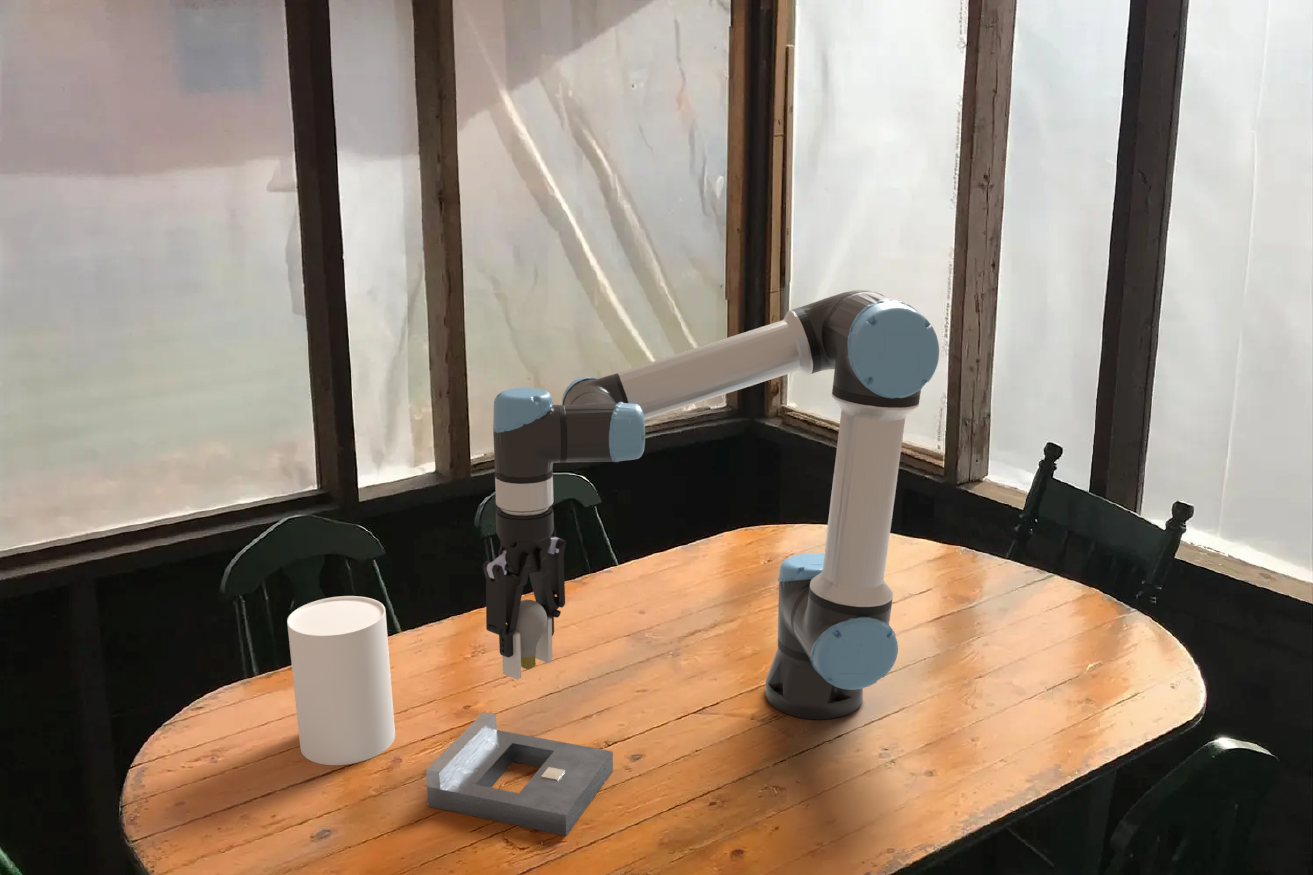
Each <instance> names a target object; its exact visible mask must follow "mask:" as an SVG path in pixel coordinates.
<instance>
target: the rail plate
mask: <svg viewBox="0 0 1313 875" xmlns="http://www.w3.org/2000/svg"><path fill="white" fill-rule="evenodd" d="M497 727H498V726H497V714H494V713H491V712H490V713H489V712H485V711H484V712H482V713H481V714H480V715H479V716H478V717H477V718H476V719H475V720H474V721H473V722H472V723H471V724H470V725H469V726H468V727H467V728H466V729H465V730H464V731H463V732H462V733H461V734H460V735H459V736H458V737H457V738H456V739H455V740H454V741H453V742H452V743H451V744H450V745H449V746H447V748H446V749H445V750H444V751H443V752H442V753H441V754H440V755H439V756H438V757H437V758H436V759H435V760H434V761H433V762H432V763H431V764H430V765H429V766H428V767H426V769H425V776H426V790H427V792H426V793H427V801H428V802H427V804H428V807H430V808H435V809H439V810H442V811H443V810H444V811H448V812H449V811H450V812H453V813H457V814H463V815H466V816H472V817H477V818H479V819H480V818H481V819H484V820H485V819H486V820H490V821H495V822H499V823H504V824H509V825H515V826H518V827H523V828H527V829H533V830H538V831H542V832H547V833H551V834H556V835H561V836H565V837H566V836H568V835H569V833H570V832H571V830H572V829H573V827H574V826H575V825H576V824H577V822H578V820H579V819H580V818H581V816H582V814H584V812H585V810H586V809H587V808H588V806H589V805H590V804H591V802H592V801H593V800H594V798H595V796H596V795H597V794H598V792H599V791H600V789H601V788H602V787H603V786H604V784H605V782H606V781H607V780H608V778H609V777H610V775H611V774H612V773H613V772H614V756H613V755H614V754H613V753H614V752H613V751H612V750H608V749H602V748H596V747H591V746H585V745H581V744H575V743H569V742H564V741H557V740H553V739H547V738H542V737H538V736H531V735H526V734H520V733H516V732H509V731H505V730H504V731H503V730H499V729H498V728H497ZM513 763H516V764H521V765H528V766H533V767H538V768H539V769H538V770H537V771H536V773H535V774H533V776H532V777H531V778H530V780H529V781H528V782H527V783H526V784H525V786H523V788H522V789H521V790H520V791H519V792H514V791H510V790H505V789H504V790H503V789H500V788H494V787H493V785H494V784H495V783H496V782H497V781H498V780H499V779H500V778H501V777H502V775H504V773H505V772H506V771H507V770H508V769H509V767H510V766H511V765H512V764H513Z"/></svg>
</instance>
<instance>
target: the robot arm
mask: <svg viewBox="0 0 1313 875" xmlns="http://www.w3.org/2000/svg"><path fill="white" fill-rule="evenodd" d="M939 358H940V344H939V339H938V336H937V333H936V331H935V329H934V327H933V325H932V324H931V322H930V321H929V320H928V318H926V316H924V315H923V314H921V312H919V311H918V310H917V309H915V307H913V306H912V305H909V304H908V303H905V302H903V301H901V300H900V301H899V300H896V299H893V298H890V297H887V296H885V295H883V294H882V293H878V292H877V291H873V290H867V289H866V290H865V289H857V290H855V289H854V290H850V291H846V292H841V293H839V294H836V295H832V296H829V297H825V298H823V299H819V300H817V301H814V302H811V303H808V304H805V305H803V306H799V307H796V308H794V309H790V310H788V311H787V312H786V314H785V316H784V318H783V319H782V320H779V321H776V322H772V323H770V324H767V325H764V326H760V327H758V328H757V327H756V328H754V329H751V330H748V331H747V330H746V332H745V331H744V332H742V333H738V334H735V335H732V336H728V337H726V338H724V339H720V340H716V341H713V342H710V343H707V344H705V345H701V346H697V347H695V348H692V349H688V350H685V351H682V352H680V353H679V352H678V353H676V354H673V355H670V356H666V357H664V358H660V359H657V360H655V361H651V362H648V363H644V364H642V365H638V366H635V367H632V368H628V369H626V370H622V371H619V372H616V373H614V374H609V375H607V376H603V377H599V378H595V377H592V376H583V377H579V378H577V379H575V380H573V381H571V383H569V385H568V386H567V387H566V388H565V389H564V392H563V395H562V399H561V404H560V405H559V404H554V402H553V401H552V400H553V399H552V398H553V397H552V395H551V392H549V391H547V390H545V389H542V388H537V387H535V388H531V387H515V388H509V389H504V390H503V391H501V392H499V393H498V394H497V395H496V397H495V398H494V401H493V421H492V422H493V424H492V427H493V428H492V430H493V433H492V434H493V453H494V454H493V455H494V456H493V458H494V459H493V460H494V478H495V479H494V483H495V485H494V486H495V505H496V506H497V508H496V510H495V526H496V527H495V528H496V530H495V531H496V535H497V536H498V539H499V541H500V548H499V549H498V557H496V558H495V559H494V560H492V561H488V560H487V561H484V562H483V564H482V569H483V572H484V573H483V574H484V575H485V599H486V600H485V601H486V603H485V604H486V605H485V612H486V613H485V618H486V620H485V621H486V622H485V623H486V626H485V628H486V630H487V632H491V633H492V634H496V635H498V640H499V654H500V655H501V656H502V674H503V675H505V676H507V677H510V678H512V679H514V680H520V679H522V667H521V644H520V633H519V632H516V625H517V620H518V614H519V608H520V603H521V600H522V597H523V591H524V586H526V585H527V583H528V578H529V579H530V584H531V588H532V593H533V596H534V601H536V602H538V603H539V604H540V605H541V606H542V607H543V608H544V610H545V612H546V614H547V625H546V629H545V631H544V633H543V634H542V636H541V638H540V639H539V641H538V643H537V645H536V654H535V655H536V656H535V660H538V661H541V662H544V663H547V664H550V663H553V636H554V634H555V618H559V617H560V615H561V610H559V608H564V607H565V605H566V586H565V582H566V581H565V561H564V560H565V559H564V557H565V551H566V545H567V541H566V540H565V539H563V538H559V537H557V536H554V535H553V533H554V508H553V507H552V505H553V503H554V478H553V477H554V473H553V472H554V471H553V470H554V469H553V466H554V465H553V464H555V463H565V464H566V463H593V462H594V463H596V462H597V463H599V462H600V463H601V462H603V463H604V462H613V463H619V462H623V461H632V460H638V459H640V458H641V457H642V456H643V453H644V451H645V446H646V424H645V420H647V419H650V418H653V417H654V418H655V417H657V416H661V415H663V414H667V413H669V412H673V411H676V410H679V409H682V408H685V407H689V406H691V405H692V406H693V405H694V404H697V403H700V402H704V401H707V400H710V399H713V398H717V397H720V396H723V395H727V394H729V393H733V392H735V391H739V390H742V389H745V388H747V387H753V386H755V385H757V384H760V383H763V382H764V383H765V382H766V381H769V380H770V381H771V380H773V379H777V378H779V377H783V376H786V375H788V374H792V373H795V372H801V373H803V374H804V375H807V376H809V375H812V374H817V373H819V372H821V371H828V370H829V371H830V370H834V374H833V381H832V382H833V383H832V391H831V396H832V398H833V399H834V401H835V402H836V403H837V404H838V405H839V406H840V409H841V411H840V420H839V428H838V436H837V444H836V453H835V454H836V455H835V462H834V470H833V477H832V487H831V488H832V489H831V493H830V494H831V496H830V501H829V502H830V504H829V514H828V518H827V519H828V521H827V528H826V529H827V531H826V538H825V546H824V553H822V552H821V553H819V552H817V553H815V552H814V553H802V554H796V555H793V556H791V557H788V558H785V559H784V560H783V561H782V562H781V563H780V566H779V573H778V574H779V575H778V576H779V577H778V578H777V582H778V606H777V607H778V608H777V609H778V611H777V612H778V613H777V615H778V616H777V618H778V619H777V621H778V622H777V649H776V652H775V655H774V657H773V660H772V662H771V665H770V668H769V671H768V673H767V674H766V675H767V676H766V680H765V698H766V700H767V701H768V703H769V704H770V705H771V706H772V707H774V708H775V709H777V710H778V711H779V712H782V713H784V714H787V715H790V716H792V717H793V716H794V717H797V718H801V719H807V720H809V719H810V720H829V719H830V720H831V719H837V718H841V717H845V716H847V715H851V714H852V713H853V712H855V711H856V710H858V709H859V708H860V707H861V705H862V703H863V698H864V696H863V695H864V693H863V692H864V689H865V688H868V687H870V686H872V685H874V684H875V685H876V683H877V681H880V680H881V679H882V678H884V677H886V676H887V675H888V674H889V673H890V671H891V670H892V668H893V667H894V665H895V664H896V661H897V658H898V652H899V644H898V640H897V637H896V633H895V631H894V630H893V628H892V627H891V625H890V620H891V615H892V606H893V598H894V593H893V592H894V591H893V590H892V588H891V587H890V586H889V585H888V584H887V582H885V572H886V565H887V558H888V550H889V544H890V543H889V542H890V536H891V534H890V533H891V528H892V522H893V520H892V519H893V512H894V506H895V505H894V504H895V499H896V490H897V483H898V475H899V467H900V461H901V454H902V445H903V437H904V431H905V430H904V429H905V423H906V417H907V415H908V414H910V413H911V412H912V411H914V410H915V409H917V408H918V407H919V405H920V401H921V400H920V398H921V394H922V390H923V387H924V386H925V385H926V384H927V383H929V382H930V381H931V379H932V378H933V376H934V374H935V373H936V370H937V367H938V364H939ZM552 535H553V536H552Z"/></svg>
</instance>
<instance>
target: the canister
mask: <svg viewBox="0 0 1313 875" xmlns="http://www.w3.org/2000/svg"><path fill="white" fill-rule="evenodd" d="M286 620H287V621H286V623H287V632H288V641H289V643H288V644H289V651H290V652H289V653H290V660H291V661H290V662H291V670H292V681H293V690H294V700H295V709H296V710H295V711H296V720H297V729H298V738H299V739H298V740H299V748H300V752H301V754H302V756H304V758H305V759H307V760H308V761H311V762H313V763H316V764H319V765H326V766H344V765H352V764H357V763H361V762H364V761H368V760H370V759H373V758H375V757H377V756H379V755H381V754H382V753H384V752H385V751H386V750H388V749H389V747H391V746H392V744H393V743H394V741H395V738H396V729H395V716H394V714H395V713H394V702H393V691H392V690H393V689H392V676H391V665H390V664H391V662H390V654H389V653H390V649H389V639H388V627H387V626H388V625H387V613H386V607H385V606H384V604H383V603H382V602H380V601H379V600H376V599H374V598H370V597H366V596H356V595H343V596H342V595H341V596H332V597H327V598H322V599H318V600H315V601H311V602H308V603H307V604H304V605H302V606H299V607H298V608H297V609H295V610H294V611H292V612H291V613H290V614H289V615H288V617H287V619H286Z"/></svg>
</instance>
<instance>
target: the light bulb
mask: <svg viewBox="0 0 1313 875" xmlns="http://www.w3.org/2000/svg"><path fill="white" fill-rule="evenodd" d="M546 625H547V614H546V612H545V610H544V608H543V607H542V606H541V605H540V604H539V603H538V602H536V600H533V599H523V600H522V599H521V603H520V608H519V614H518V620H517V625H516V632H519V633H520V644H521V669H522V668H523V669H525V670H531V669H533V668H535V666H536V664H537V663H536V658H535V656H536V655H535V654H536V645H537V643H538V641H539V639H540V638H541V636H542V634H543V633H544V631H545V629H546Z"/></svg>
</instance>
